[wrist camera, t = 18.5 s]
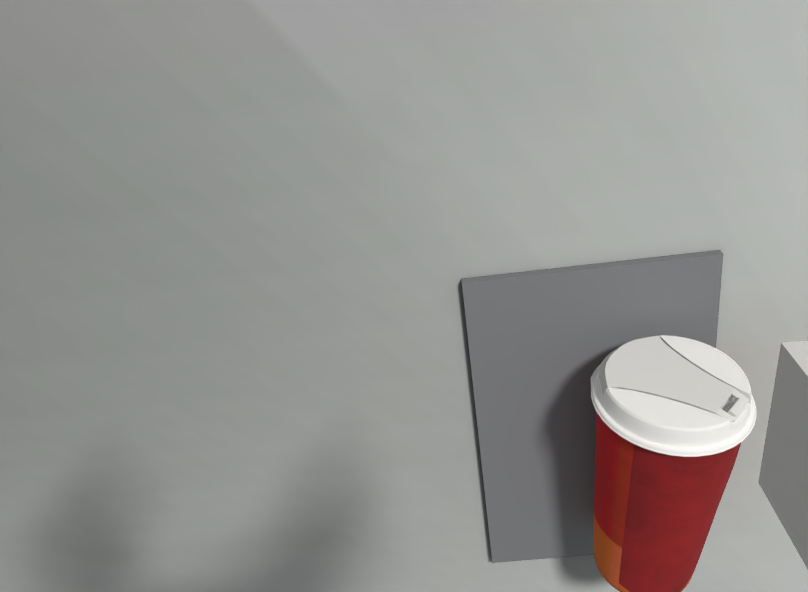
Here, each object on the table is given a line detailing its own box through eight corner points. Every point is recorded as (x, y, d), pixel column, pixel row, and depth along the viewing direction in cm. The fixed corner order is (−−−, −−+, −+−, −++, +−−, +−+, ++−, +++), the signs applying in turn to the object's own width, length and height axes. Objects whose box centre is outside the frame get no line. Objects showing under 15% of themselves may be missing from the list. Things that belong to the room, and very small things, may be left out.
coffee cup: (735, 552, 48) (788, 369, 39) (672, 646, 43) (717, 462, 34) (615, 485, 53) (639, 310, 44) (547, 564, 48) (559, 384, 39)
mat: (491, 557, 53) (492, 562, 52) (461, 278, 42) (461, 283, 42) (697, 539, 52) (700, 545, 51) (719, 249, 41) (722, 254, 41)
